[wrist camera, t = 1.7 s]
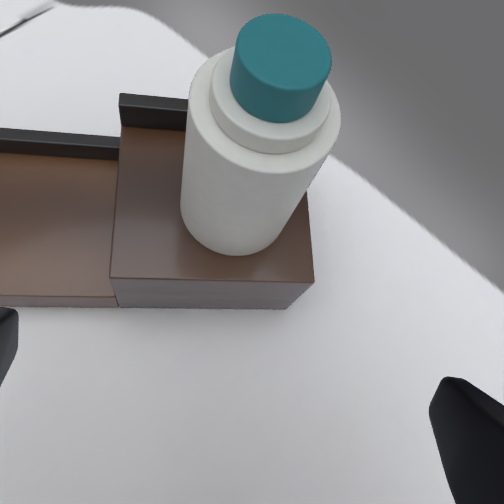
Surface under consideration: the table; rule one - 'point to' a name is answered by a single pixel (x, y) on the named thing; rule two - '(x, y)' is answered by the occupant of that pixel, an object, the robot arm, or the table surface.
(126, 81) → the table surface
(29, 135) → the tray
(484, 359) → the table surface
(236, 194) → the bottle
